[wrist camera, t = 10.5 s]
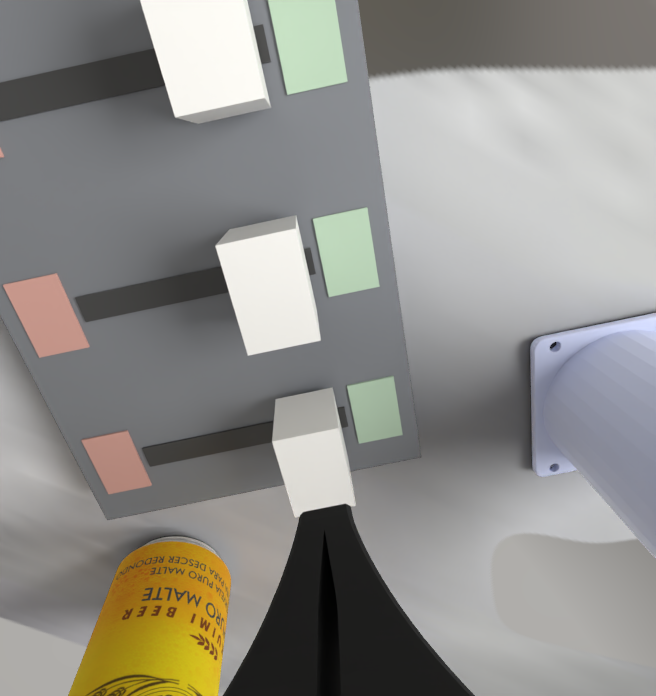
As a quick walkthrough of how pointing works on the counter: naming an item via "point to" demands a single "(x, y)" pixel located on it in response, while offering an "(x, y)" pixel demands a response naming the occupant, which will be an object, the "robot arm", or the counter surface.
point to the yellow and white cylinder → (160, 624)
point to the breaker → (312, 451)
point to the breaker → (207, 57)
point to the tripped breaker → (269, 285)
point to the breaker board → (191, 248)
